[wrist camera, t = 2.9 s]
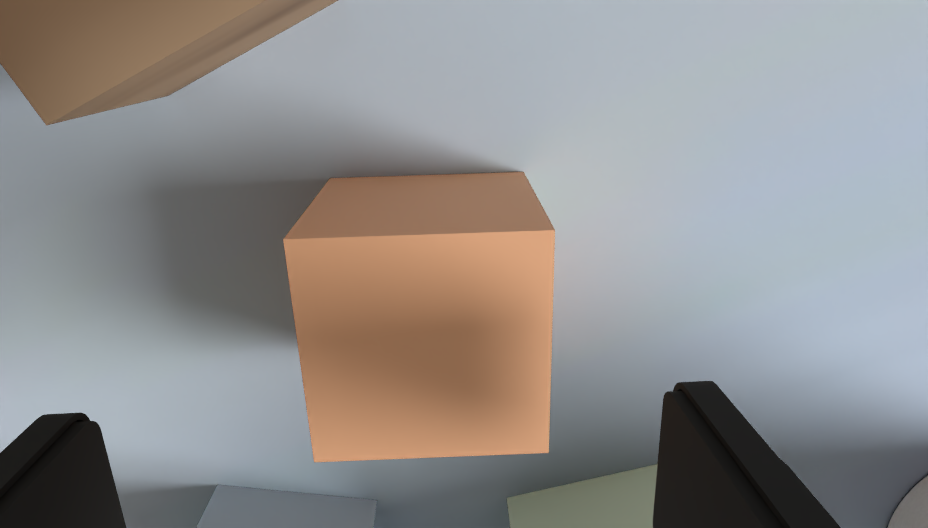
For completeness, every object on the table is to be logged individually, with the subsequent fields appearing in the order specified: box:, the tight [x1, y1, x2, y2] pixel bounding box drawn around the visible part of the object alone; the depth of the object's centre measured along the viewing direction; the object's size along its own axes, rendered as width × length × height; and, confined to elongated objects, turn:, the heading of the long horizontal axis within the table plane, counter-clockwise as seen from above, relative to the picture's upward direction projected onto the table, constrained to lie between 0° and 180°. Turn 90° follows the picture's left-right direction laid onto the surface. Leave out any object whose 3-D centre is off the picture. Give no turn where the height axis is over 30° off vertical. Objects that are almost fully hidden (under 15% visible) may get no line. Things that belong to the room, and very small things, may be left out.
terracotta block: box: [283, 172, 555, 462], centre depth 15 cm, size 5×5×5 cm
